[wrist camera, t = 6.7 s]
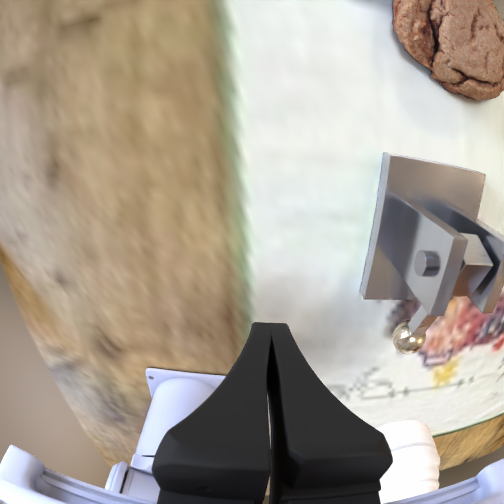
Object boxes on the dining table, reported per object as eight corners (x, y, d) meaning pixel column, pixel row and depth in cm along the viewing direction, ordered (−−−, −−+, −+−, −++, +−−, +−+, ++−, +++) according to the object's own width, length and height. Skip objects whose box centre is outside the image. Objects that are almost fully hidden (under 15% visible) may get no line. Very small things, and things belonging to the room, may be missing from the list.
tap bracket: (446, 291, 22) (490, 347, 15) (359, 290, 22) (390, 358, 15) (476, 170, 18) (543, 199, 11) (383, 152, 18) (441, 174, 11)
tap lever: (412, 330, 23) (419, 358, 21) (385, 331, 23) (390, 361, 21) (478, 233, 15) (496, 266, 13) (446, 229, 15) (464, 265, 13)
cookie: (467, 128, 17) (492, 132, 14) (357, 15, 14) (372, 1, 12) (518, 50, 13) (542, 49, 10) (425, -52, 11) (443, -66, 8)
